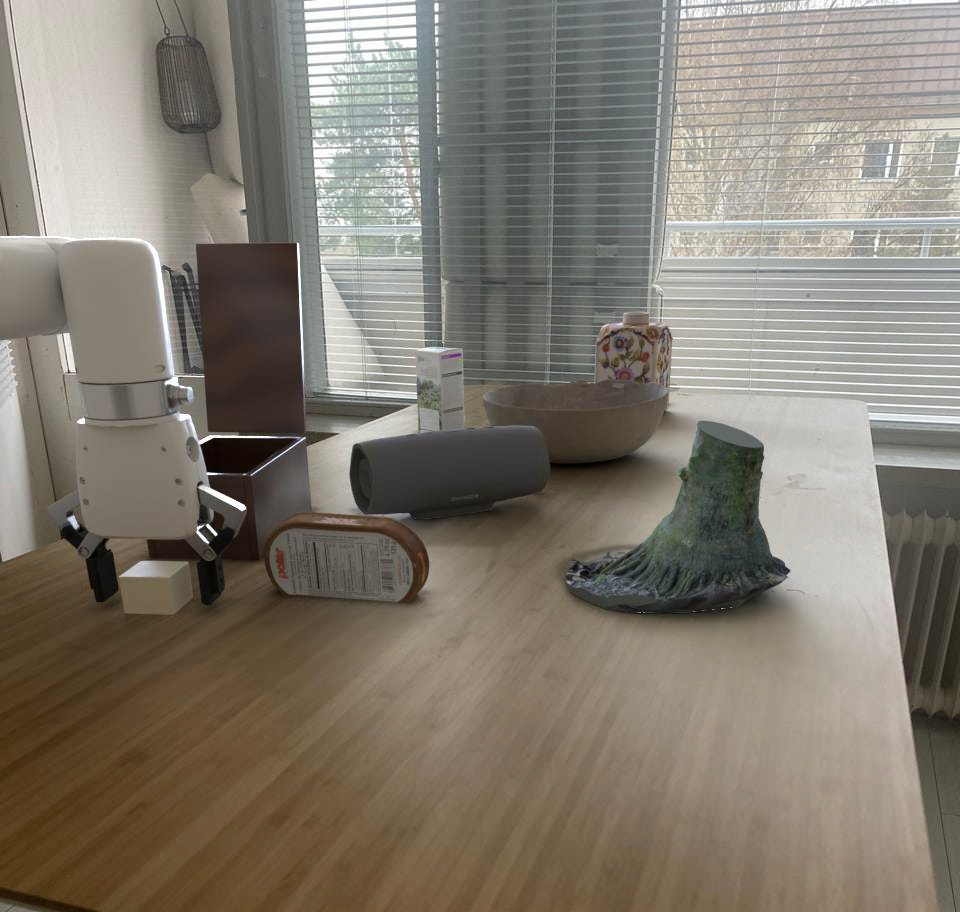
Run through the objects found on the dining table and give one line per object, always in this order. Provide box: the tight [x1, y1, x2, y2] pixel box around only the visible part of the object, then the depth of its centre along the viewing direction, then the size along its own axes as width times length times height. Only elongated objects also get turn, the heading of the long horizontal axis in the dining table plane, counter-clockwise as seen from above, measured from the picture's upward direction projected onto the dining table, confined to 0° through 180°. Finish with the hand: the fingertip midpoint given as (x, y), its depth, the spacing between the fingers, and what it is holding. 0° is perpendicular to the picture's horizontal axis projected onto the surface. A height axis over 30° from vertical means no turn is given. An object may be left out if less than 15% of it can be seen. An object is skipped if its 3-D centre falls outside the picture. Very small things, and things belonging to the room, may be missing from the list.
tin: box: [263, 511, 430, 604], centre depth 87 cm, size 15×3×8 cm, turn 77°
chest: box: [146, 435, 313, 561], centre depth 106 cm, size 20×12×10 cm, turn 174°
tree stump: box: [565, 420, 792, 614], centre depth 90 cm, size 18×20×18 cm
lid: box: [195, 242, 307, 434], centre depth 113 cm, size 20×12×5 cm
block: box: [118, 560, 194, 616], centre depth 86 cm, size 4×4×4 cm
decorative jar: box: [593, 311, 674, 412], centre depth 180 cm, size 12×12×18 cm
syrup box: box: [414, 346, 466, 433], centre depth 159 cm, size 6×6×14 cm
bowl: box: [481, 379, 670, 465], centre depth 146 cm, size 28×28×10 cm
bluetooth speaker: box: [348, 425, 551, 520], centre depth 117 cm, size 23×9×10 cm, turn 115°
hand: (159, 598), depth 86 cm, fingers open, 9 cm apart
